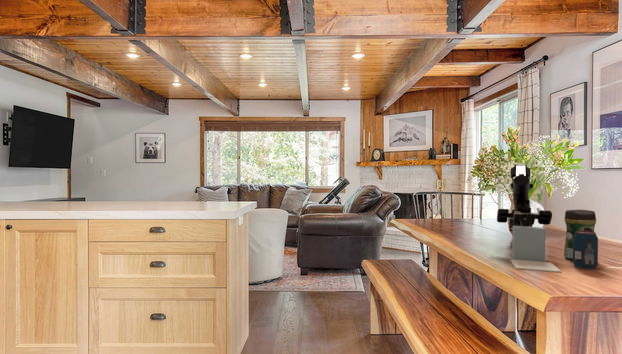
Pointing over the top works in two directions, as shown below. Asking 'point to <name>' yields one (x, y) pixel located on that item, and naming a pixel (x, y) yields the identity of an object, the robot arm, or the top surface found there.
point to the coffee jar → (577, 227)
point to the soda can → (585, 250)
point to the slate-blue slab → (528, 243)
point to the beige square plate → (535, 265)
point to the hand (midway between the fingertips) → (526, 233)
